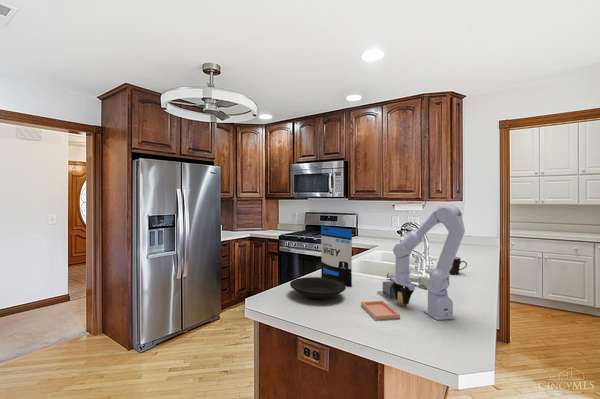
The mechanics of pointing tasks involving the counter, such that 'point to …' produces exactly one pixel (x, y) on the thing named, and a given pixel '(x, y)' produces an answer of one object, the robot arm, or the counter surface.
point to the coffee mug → (456, 266)
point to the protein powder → (336, 254)
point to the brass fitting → (400, 299)
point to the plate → (317, 287)
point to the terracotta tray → (380, 310)
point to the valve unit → (387, 291)
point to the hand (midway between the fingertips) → (402, 302)
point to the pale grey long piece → (413, 279)
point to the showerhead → (429, 270)
